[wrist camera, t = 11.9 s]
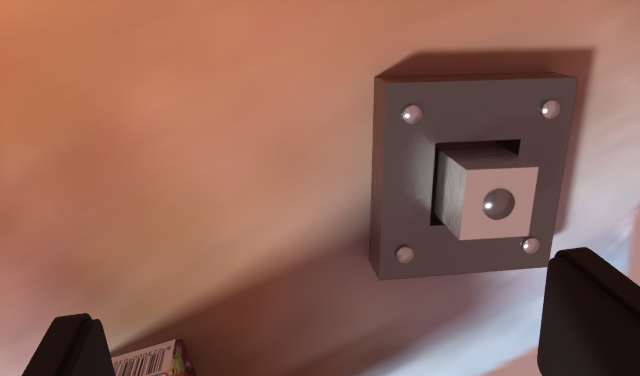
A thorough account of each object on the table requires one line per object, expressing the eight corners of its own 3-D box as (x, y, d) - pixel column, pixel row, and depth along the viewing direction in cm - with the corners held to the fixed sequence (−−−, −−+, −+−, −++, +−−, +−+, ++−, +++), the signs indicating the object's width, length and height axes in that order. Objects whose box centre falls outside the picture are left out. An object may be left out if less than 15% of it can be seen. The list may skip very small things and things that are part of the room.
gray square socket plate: (374, 76, 35) (387, 83, 32) (552, 72, 37) (581, 78, 34) (369, 260, 40) (380, 282, 37) (527, 249, 41) (550, 268, 38)
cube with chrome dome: (427, 140, 37) (467, 170, 30) (487, 138, 38) (540, 167, 31) (422, 200, 39) (460, 241, 32) (480, 197, 39) (529, 237, 33)
